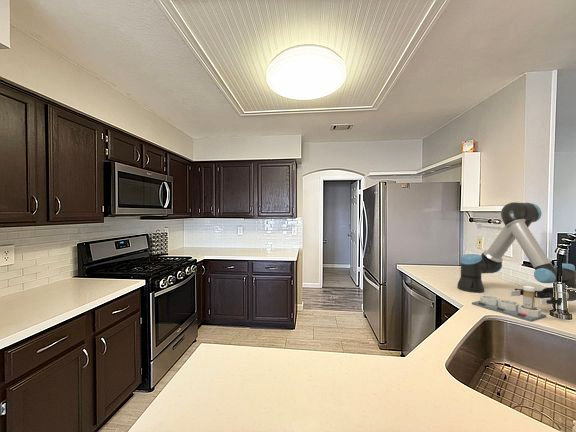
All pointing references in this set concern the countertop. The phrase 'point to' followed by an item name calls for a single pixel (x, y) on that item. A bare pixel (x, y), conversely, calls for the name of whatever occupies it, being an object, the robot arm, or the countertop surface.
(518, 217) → the robot arm
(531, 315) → the breaker board
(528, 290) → the sprinkles bottle
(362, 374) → the countertop surface
